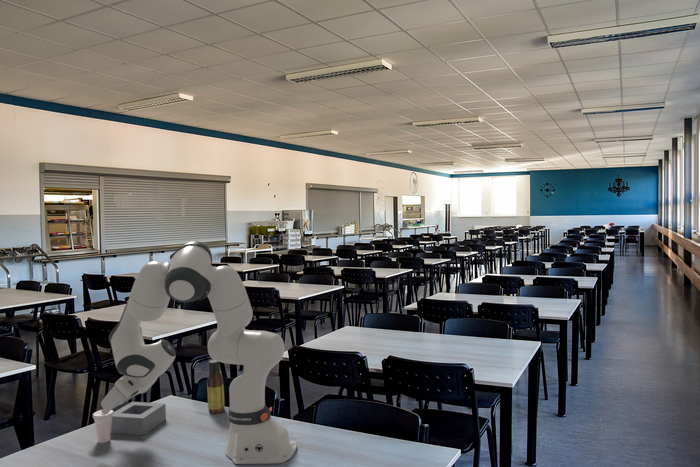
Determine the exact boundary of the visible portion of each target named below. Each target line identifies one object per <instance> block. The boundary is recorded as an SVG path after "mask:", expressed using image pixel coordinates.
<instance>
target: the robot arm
mask: <svg viewBox="0 0 700 467" xmlns="http://www.w3.org/2000/svg"><path fill="white" fill-rule="evenodd" d="M212 263H213V255H212V251H211V249H210V248H209V246H207V244H205V243H203V242H201V241H198V240H192V241H188V242H186V243H184V244H183V245H181V246H180V247H179V248H177V249H176V250H175V251H174V252H173V253H172V254H170V256H169V260H168V261H166V262H164V261H157V260H153V261H149V262H147V263H145V264H144V265H143V266H141V269H140V270H139V272H138V274H137V276H136V278H135V280H134V282H133V285H132V288H131V291H130V295H129V298H128V300H127V302H126V303H125V307H124V308H123V311H122V314H121V317H120V319H119V321H118V322H117V324H116V325H115V326H114V327H113V328H112V330H111V331H110V333H109V336H108V342H109V344H110V346H111V350H112V356H113V360H114V364H115V368H116V370H117V372H118V373H119V374H121V375H122V376H121V377H120V378H118V379H117V381H115V383H114V386H113V387H112V388H111V389H110V390H109V392H108V393H107V394H106V395H105V397H104V398H103V399H102V400H101V402H100V406H101V407H102V409H101V410H102V411H101V412H102V413H103V414H104V415H105V414H107V413H108V412H109V411H110V410H114V409H115V408H117V407H119V406H120V405H124V404H126V403H127V402H128V401H129V400H131V399H132V398H134V397H136V396H138V395H140V394H144V393H147V391H148V390H149V389H150V388H151V387H152V386H153V385H154V384H155V382H157V380H158V378H159V377H161V375H163V374H164V373H165V372H166V371H167V370H168V369H169V368H170V367H171V365H172V364H173V363H174V361H175V359H176V356H177V354H176V350H175V348H174V346H173V344H172V343H170V342H169V340H166V339H164V338H163V339H160V340H159V341H157V342H155V343H151V344H145V340H144V338H143V332H142V327H141V324H142V322H153V321H156V320H157V319H160V318H161V317H162V316H163V315H164V314H165V312H166V310H167V308H168V306H169V303H170V301H171V300H174V301H175V302H178V303H179V302H180V303H191V302H194V301H203V300H204V299H205V298H208V300H209V303H210V306H211V309H212V312H213V314H214V317H215V321H216V324H217V327H216V330H215V331H214V332H213V333H212V334H211V335H210V337H209V338H208V340H207V352H208V355H209V357H210V358H211V360H216V361H219V362H220V363H222V364H228V365H240V366H241V365H242V366H243V367H244V368H243V373H242V374H239V376H237V377H235V378H234V379H233V380H232V381H231V382H230V385H229V387H228V390H229V407H228V417H227V418H228V425H229V429H228V430H229V431H228V439H227V445H226V448H225V455H226V457H228V458H229V459H231V461H232V462H233V464H235V465H253V464H254V465H259V464H262V465H263V464H268V465H269V464H283V463H285V462H287V461H288V460H290V459H292V457H293V456H294V455H295V453H296V451H297V449H298V448H297V443H296V441H295V440H290V436H289V432H288V429H287V428H286V427H285V426H284V425H282V423H280V422H279V421H277V420H276V419H274V418H273V417H272V416H271V412H272V411H273V409H272V408H273V407H272V406H270V407H268V406H267V405H266V402H265V399H266V397H265V395H266V394H265V393H266V391H265V390H266V381H267V377H268V376H269V374H270V371H271V370H272V369H273V368H274V367H275V366H276V365H277V364H279V362H280V361H282V359H283V357H284V355H285V348H286V347H285V342H284V340H283V338H282V337H281V335H280V334H278V333H274V332H271V331H267V330H255V329H252V330H250V329H246V327H247V326H248V325H249V324H250V323H251V321H252V320H253V319H252V318H253V315H254V313H253V312H254V311H253V308H252V306H251V301H250V299H249V296H248V293H247V290H246V287H245V285H244V283H243V280H242V279H241V276H240V275H239V272H237V271H236V269H235V268H234V267H232V266H229V265H225V264H223V265H219V266H213V265H212Z"/></svg>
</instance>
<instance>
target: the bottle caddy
mask: <svg viewBox="0 0 700 467" xmlns="http://www.w3.org/2000/svg"><path fill="white" fill-rule="evenodd" d="M166 411H167V410H166V403H161V402H160V403H159V402H142V401H141V402H140V401H131V402H129V403H127V404H126V405H124V406H122V407H120V408H119V409H117V410H115V411H113V413H114V414H113V415H112V425H111V434H119V435H120V434H122V435H133V436H145V435H146V434H148V433H149V432H151V431H152V430H153V429H155V428H156V427H157V426H159V425H160V424H162V423H164V422H165V421H166V419H167V417H166V416H167V412H166Z"/></svg>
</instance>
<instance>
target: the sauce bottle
mask: <svg viewBox="0 0 700 467" xmlns="http://www.w3.org/2000/svg"><path fill="white" fill-rule="evenodd" d="M220 363H221V362H219V361H216V360H213V359H210V360H209V361H208V366H209V374H208V377H207V380H206V387H207V388H206V390H207V408H208V411H209V412H210V413H212V414H218V413H222V412H223V411H225V408H226V407H225V405H226V404H225V386H224V385H225V384H224V377H223V375H222V373H221V371H220Z"/></svg>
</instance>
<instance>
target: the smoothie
mask: <svg viewBox="0 0 700 467" xmlns="http://www.w3.org/2000/svg"><path fill="white" fill-rule="evenodd" d="M101 411H102V409H100V410H97V411H95V412H93V413H92V418H93V420H94V425H95V431H96V432H95V433H96V438H97V443H98V444H104V443H105V444H106V443H107V442H108V443H109V441H111V434H112V433H111V425H112V415H113V414H114V413H113V412H114V409H112V410H110V411H109V412H108V413H107V414H105V415H104V414H103V413H102V412H101Z"/></svg>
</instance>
